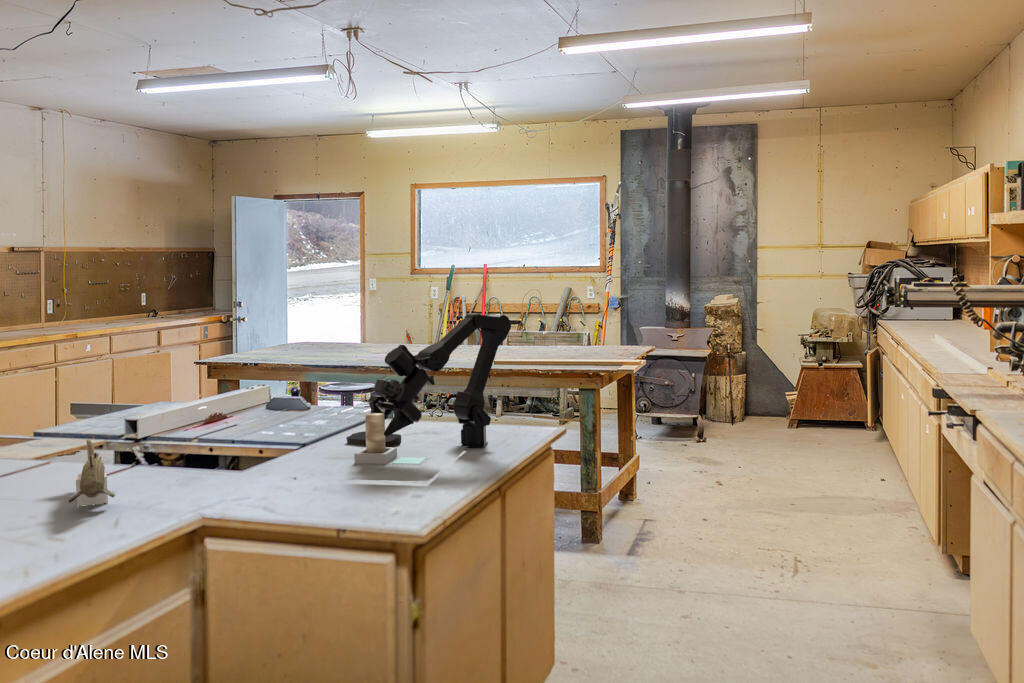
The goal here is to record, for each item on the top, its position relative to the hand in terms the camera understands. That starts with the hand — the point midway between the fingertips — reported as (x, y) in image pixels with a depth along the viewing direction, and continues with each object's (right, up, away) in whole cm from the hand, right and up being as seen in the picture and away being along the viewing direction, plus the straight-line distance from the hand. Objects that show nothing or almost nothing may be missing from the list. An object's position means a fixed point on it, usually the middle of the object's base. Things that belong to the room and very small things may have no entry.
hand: (375, 433), depth 216 cm
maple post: (0, -7, +1) cm, 7 cm away
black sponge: (-4, -7, +23) cm, 24 cm away
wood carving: (-59, -12, -31) cm, 67 cm away
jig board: (+5, -8, 0) cm, 9 cm away
